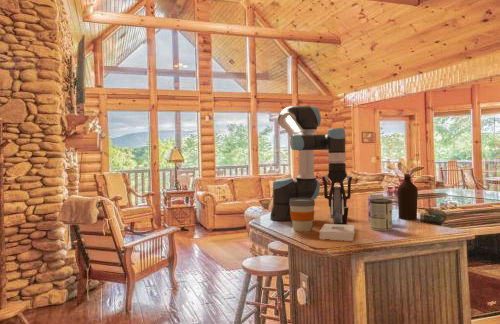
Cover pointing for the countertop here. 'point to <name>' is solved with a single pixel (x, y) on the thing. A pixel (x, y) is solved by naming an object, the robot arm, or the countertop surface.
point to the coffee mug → (344, 216)
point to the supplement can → (370, 197)
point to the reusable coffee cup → (302, 213)
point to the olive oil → (407, 199)
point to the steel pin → (337, 205)
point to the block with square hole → (337, 232)
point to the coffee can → (381, 214)
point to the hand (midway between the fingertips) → (337, 214)
